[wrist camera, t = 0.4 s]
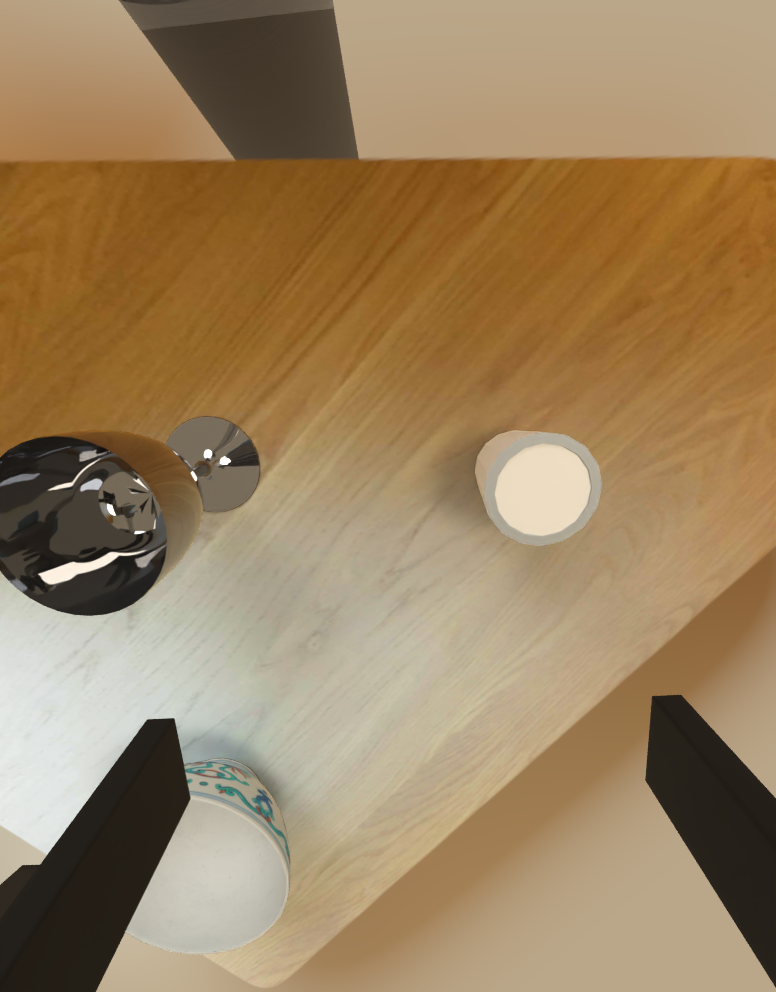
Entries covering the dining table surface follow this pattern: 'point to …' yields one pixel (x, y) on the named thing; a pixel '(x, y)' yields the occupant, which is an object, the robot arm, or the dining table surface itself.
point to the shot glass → (538, 485)
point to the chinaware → (218, 866)
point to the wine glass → (114, 509)
